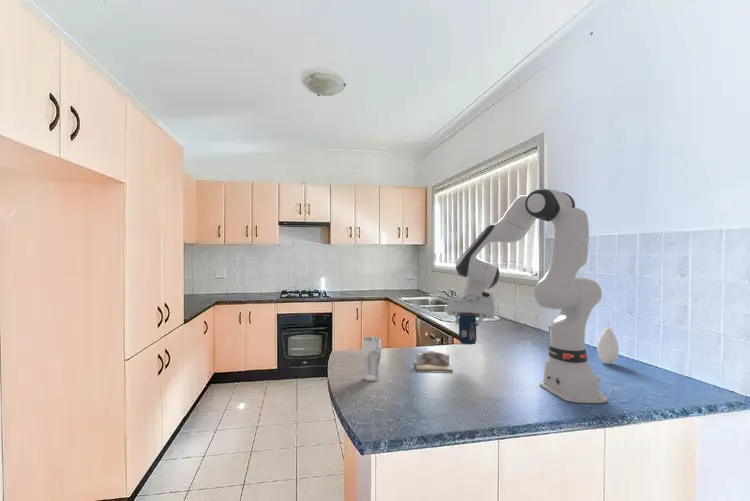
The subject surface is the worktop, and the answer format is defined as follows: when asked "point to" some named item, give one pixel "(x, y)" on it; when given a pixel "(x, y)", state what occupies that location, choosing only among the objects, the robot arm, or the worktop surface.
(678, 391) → the worktop surface
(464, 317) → the soda can
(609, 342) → the white tall egg shape
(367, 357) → the beer glass
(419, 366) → the napkin holder
